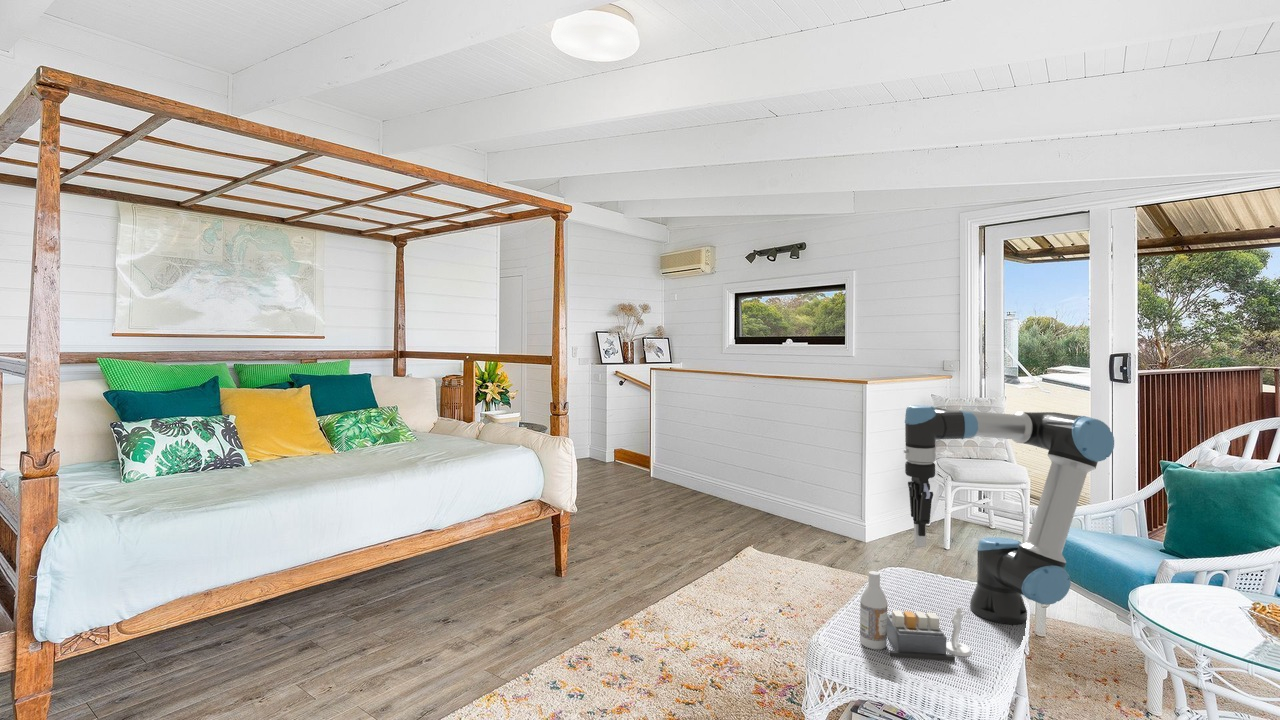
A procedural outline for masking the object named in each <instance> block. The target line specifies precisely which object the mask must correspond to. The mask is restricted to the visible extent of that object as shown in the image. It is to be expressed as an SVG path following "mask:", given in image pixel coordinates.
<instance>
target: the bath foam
mask: <svg viewBox="0 0 1280 720" xmlns="http://www.w3.org/2000/svg"><path fill="white" fill-rule="evenodd" d="M859 607H860V608H859V610H860V615H859V641H860V643H861V645H862V646H864V647H865V648H868V649H871V650H882V649H883V650H884V649H885V648H886V647H887V646H888V645H887V644H888V643H887V640H888V637H887V614H888V601H887V596H886V594H885V592H884V591H883V589H882V588H881V574H880V572H879V571H876V570H870V571H869V572H868V585H867V586H866V587H865V588H864V590H863V592H862V593H861V596H860V605H859Z"/></svg>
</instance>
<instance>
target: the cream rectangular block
mask: <svg viewBox="0 0 1280 720" xmlns="http://www.w3.org/2000/svg"><path fill="white" fill-rule="evenodd" d="M925 615H926V617H927V618H928V622H927V625H928V626H929V628H930V629H938V630H939V628H940V618H939V616H938V615H937V614H936V612H926V614H925Z"/></svg>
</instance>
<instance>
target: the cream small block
mask: <svg viewBox="0 0 1280 720" xmlns="http://www.w3.org/2000/svg"><path fill="white" fill-rule="evenodd" d="M891 614H892V622H893V623H894V625H895V627H904V613H902V611H901V610H892V612H891Z"/></svg>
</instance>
